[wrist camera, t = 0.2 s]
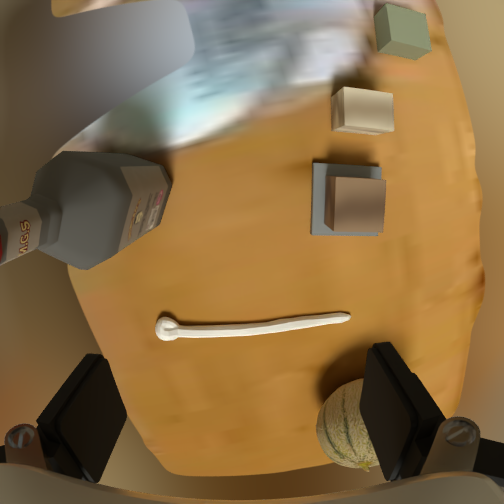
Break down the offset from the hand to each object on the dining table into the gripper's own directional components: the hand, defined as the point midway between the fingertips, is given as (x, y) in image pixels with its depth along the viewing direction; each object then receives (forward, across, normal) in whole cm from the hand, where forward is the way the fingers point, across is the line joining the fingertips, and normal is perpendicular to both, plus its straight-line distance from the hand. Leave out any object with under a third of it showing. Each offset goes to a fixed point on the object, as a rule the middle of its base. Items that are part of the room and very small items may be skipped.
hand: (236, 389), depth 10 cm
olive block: (+31, -22, -26) cm, 46 cm away
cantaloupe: (+31, -16, +30) cm, 46 cm away
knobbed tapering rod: (+31, 0, +13) cm, 34 cm away
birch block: (+31, -14, -14) cm, 37 cm away
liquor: (+31, +14, -5) cm, 35 cm away
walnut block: (+30, -13, -3) cm, 32 cm away
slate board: (+31, -13, -3) cm, 33 cm away
